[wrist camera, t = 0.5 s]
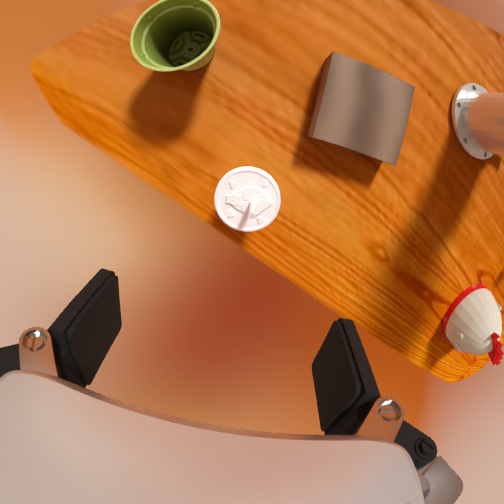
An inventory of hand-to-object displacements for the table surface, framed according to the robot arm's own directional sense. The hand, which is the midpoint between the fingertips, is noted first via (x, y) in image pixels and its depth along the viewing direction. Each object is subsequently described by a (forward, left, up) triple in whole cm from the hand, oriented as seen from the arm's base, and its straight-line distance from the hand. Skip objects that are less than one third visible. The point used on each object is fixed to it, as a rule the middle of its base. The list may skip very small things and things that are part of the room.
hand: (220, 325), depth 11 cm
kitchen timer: (-50, +12, -27) cm, 58 cm away
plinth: (-11, -14, -26) cm, 32 cm away
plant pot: (+11, -17, -27) cm, 33 cm away
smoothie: (0, -1, -26) cm, 26 cm away
